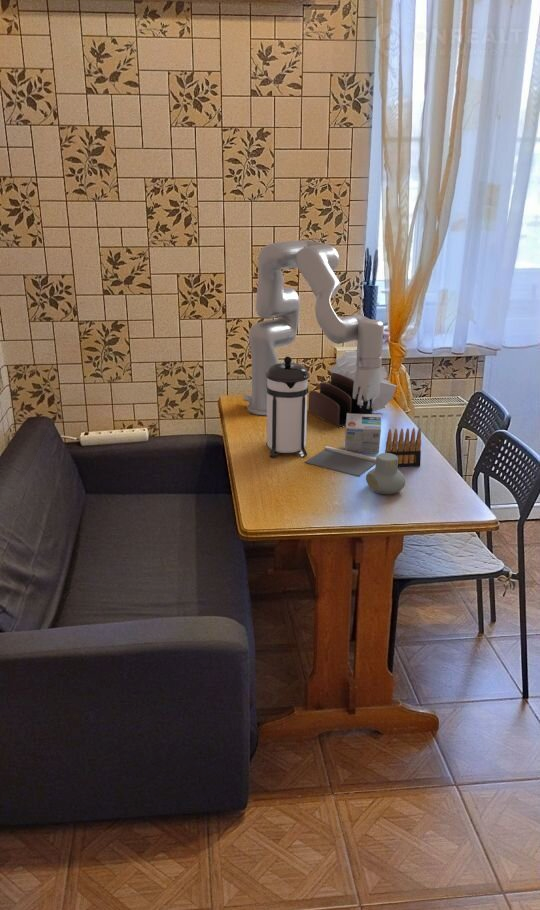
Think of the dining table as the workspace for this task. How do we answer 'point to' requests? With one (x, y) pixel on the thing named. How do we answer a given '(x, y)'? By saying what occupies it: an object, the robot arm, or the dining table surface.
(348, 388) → the letter holder
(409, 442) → the ammunition clip
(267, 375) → the coffee press
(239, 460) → the dining table surface
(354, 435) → the light bulb box
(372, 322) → the robot arm
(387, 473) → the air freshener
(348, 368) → the spiral staircase
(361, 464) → the mat
